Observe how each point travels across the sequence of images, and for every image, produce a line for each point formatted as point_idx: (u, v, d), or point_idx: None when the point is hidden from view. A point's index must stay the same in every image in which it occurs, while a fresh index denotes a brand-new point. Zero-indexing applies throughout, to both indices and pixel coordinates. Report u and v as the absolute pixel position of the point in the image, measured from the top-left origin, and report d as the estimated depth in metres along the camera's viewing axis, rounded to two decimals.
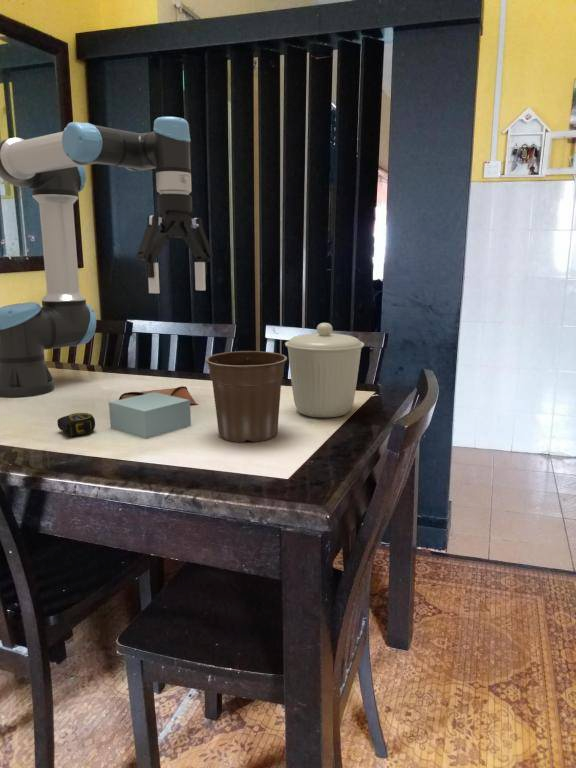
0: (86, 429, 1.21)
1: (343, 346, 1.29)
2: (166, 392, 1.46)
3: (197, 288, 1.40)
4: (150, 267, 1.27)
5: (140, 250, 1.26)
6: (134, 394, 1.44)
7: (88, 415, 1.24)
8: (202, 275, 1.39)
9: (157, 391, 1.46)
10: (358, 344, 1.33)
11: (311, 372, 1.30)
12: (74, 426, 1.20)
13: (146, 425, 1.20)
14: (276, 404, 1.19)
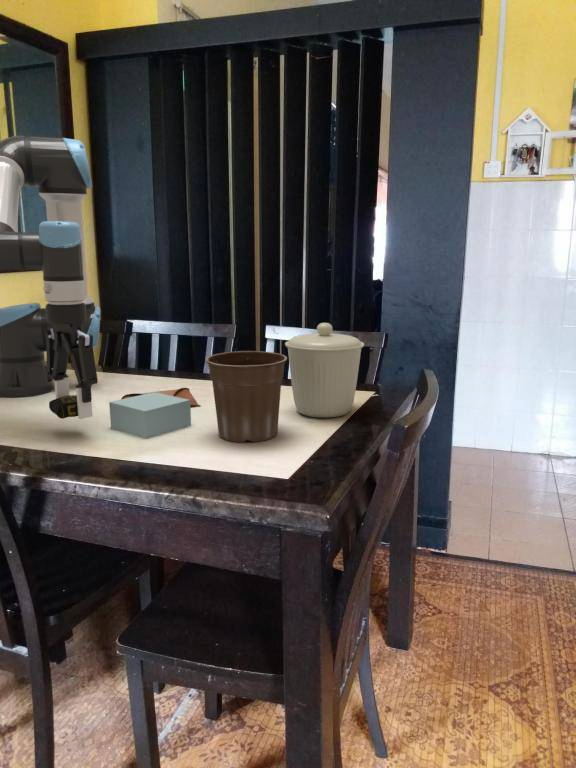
0: None
1: (343, 346, 1.29)
2: (168, 393, 1.44)
3: None
4: None
5: None
6: None
7: None
8: None
9: (159, 392, 1.44)
10: (358, 344, 1.33)
11: (311, 372, 1.30)
12: (66, 408, 1.18)
13: (147, 425, 1.20)
14: (276, 404, 1.19)
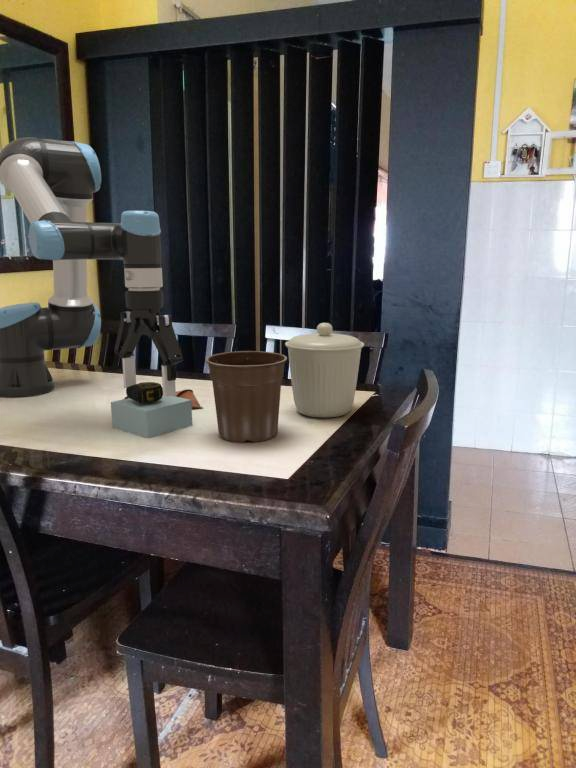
0: (155, 397, 1.24)
1: (343, 346, 1.29)
2: None
3: None
4: (122, 361, 1.29)
5: None
6: None
7: (156, 384, 1.26)
8: None
9: None
10: (358, 344, 1.33)
11: (311, 372, 1.30)
12: (145, 393, 1.22)
13: (148, 425, 1.20)
14: (276, 404, 1.19)
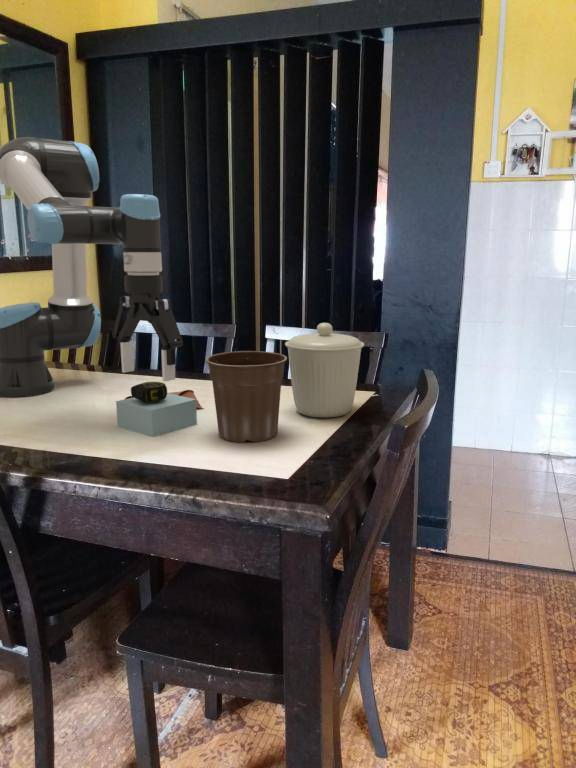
0: (159, 396, 1.25)
1: (343, 346, 1.29)
2: None
3: None
4: (120, 346, 1.29)
5: None
6: None
7: (160, 383, 1.27)
8: None
9: None
10: (358, 344, 1.33)
11: (311, 372, 1.30)
12: (149, 392, 1.23)
13: (153, 424, 1.21)
14: (276, 404, 1.19)
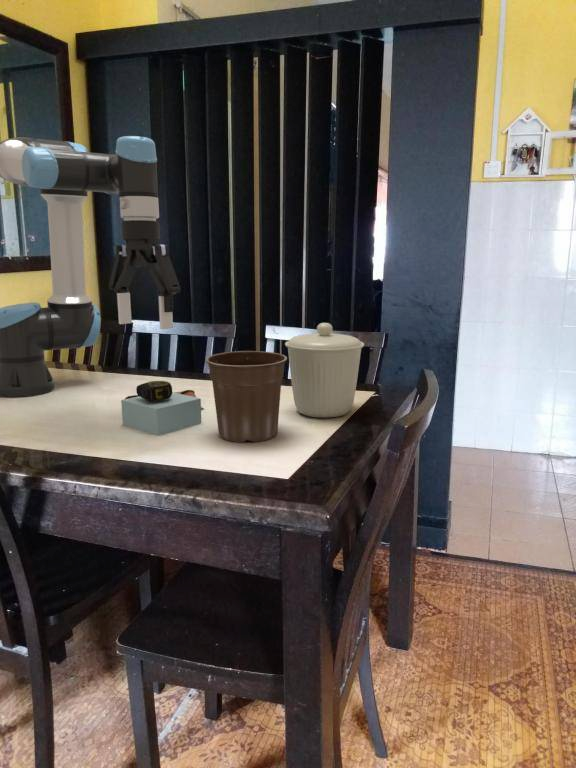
0: (164, 395, 1.25)
1: (343, 346, 1.29)
2: None
3: None
4: None
5: None
6: None
7: (166, 382, 1.28)
8: None
9: None
10: (358, 344, 1.33)
11: (311, 372, 1.30)
12: (154, 391, 1.24)
13: (158, 423, 1.22)
14: (276, 404, 1.19)
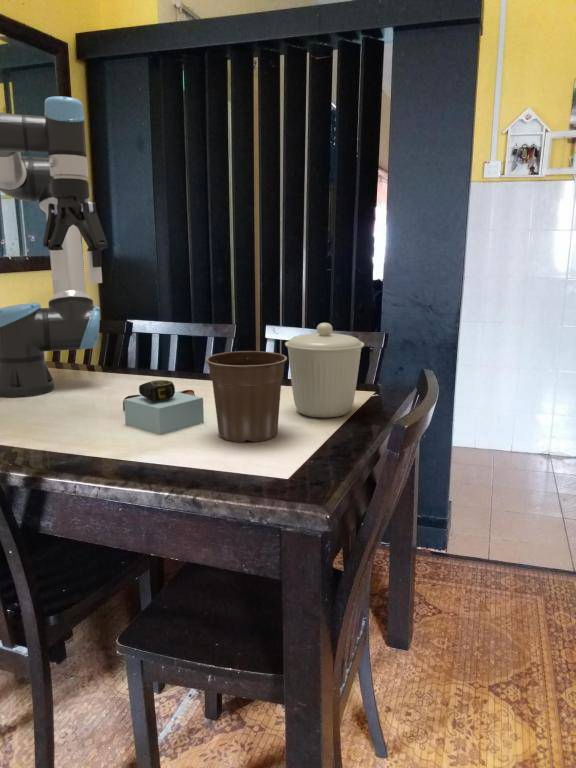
0: (167, 394, 1.26)
1: (343, 346, 1.29)
2: None
3: None
4: (51, 254, 1.32)
5: None
6: None
7: (168, 382, 1.29)
8: None
9: None
10: (358, 344, 1.33)
11: (311, 372, 1.30)
12: (156, 391, 1.25)
13: (161, 422, 1.22)
14: (276, 404, 1.19)
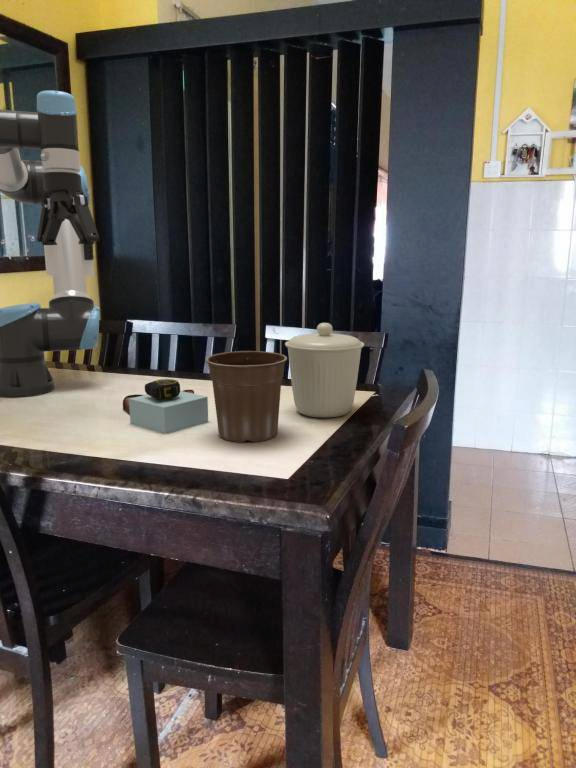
0: (173, 393, 1.27)
1: (343, 346, 1.29)
2: None
3: None
4: None
5: None
6: None
7: (174, 381, 1.29)
8: None
9: None
10: (358, 344, 1.33)
11: (311, 372, 1.30)
12: (162, 390, 1.25)
13: (166, 421, 1.23)
14: (276, 404, 1.19)
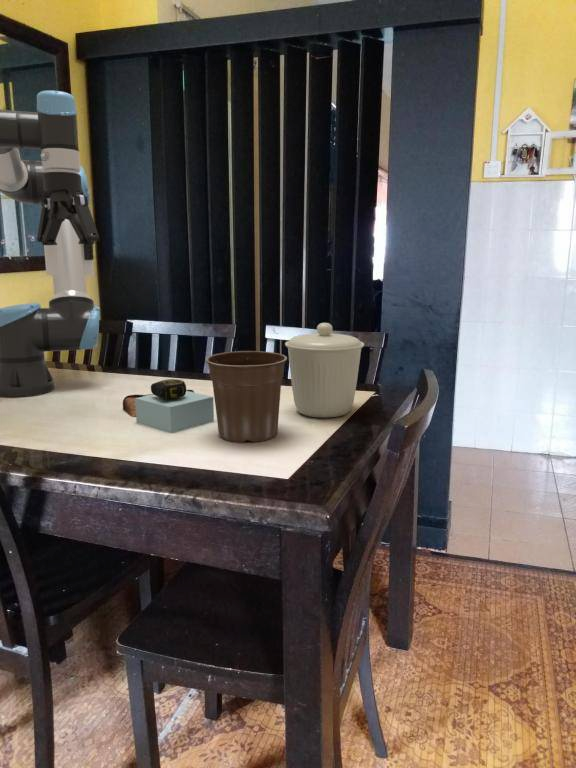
0: (179, 393, 1.27)
1: (343, 346, 1.29)
2: None
3: None
4: None
5: None
6: (138, 397, 1.41)
7: (180, 381, 1.30)
8: None
9: None
10: (358, 344, 1.33)
11: (311, 372, 1.30)
12: (168, 390, 1.26)
13: (172, 421, 1.23)
14: (276, 404, 1.19)
